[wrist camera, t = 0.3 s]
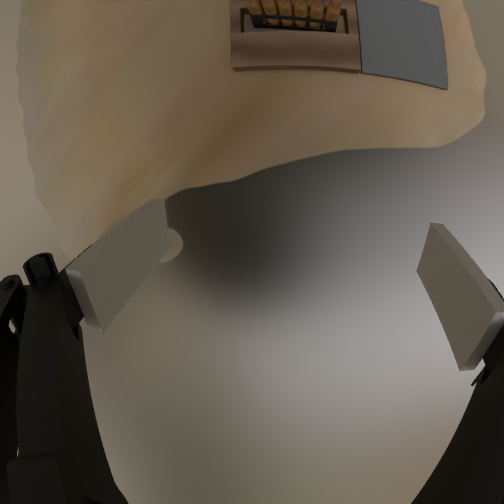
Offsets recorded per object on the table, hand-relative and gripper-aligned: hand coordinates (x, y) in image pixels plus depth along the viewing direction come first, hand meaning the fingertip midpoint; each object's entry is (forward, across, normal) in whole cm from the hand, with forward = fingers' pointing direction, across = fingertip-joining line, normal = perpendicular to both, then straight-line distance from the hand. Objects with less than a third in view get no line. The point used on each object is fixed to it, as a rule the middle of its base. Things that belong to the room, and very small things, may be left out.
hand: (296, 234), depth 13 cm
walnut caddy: (+28, -1, +18) cm, 33 cm away
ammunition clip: (+28, -1, +18) cm, 33 cm away
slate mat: (+28, +14, +18) cm, 36 cm away
